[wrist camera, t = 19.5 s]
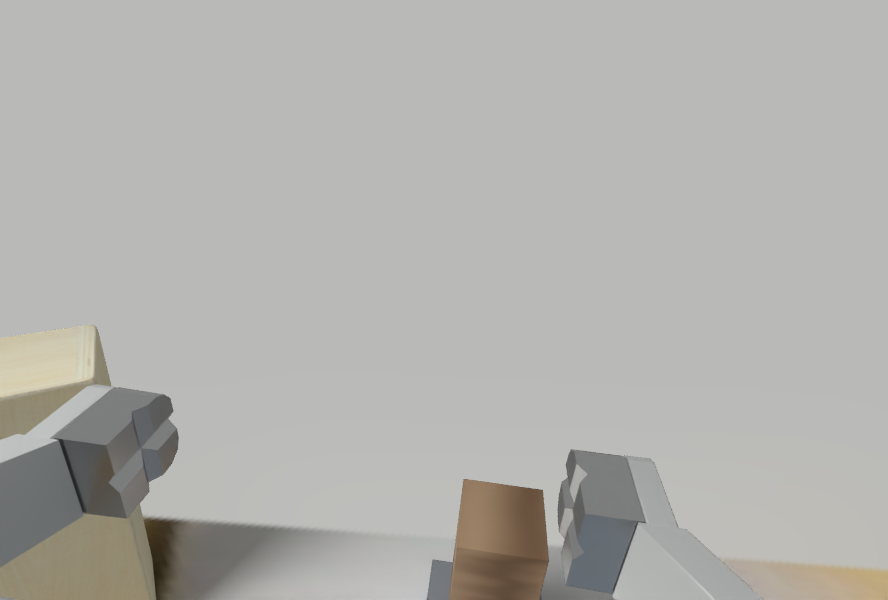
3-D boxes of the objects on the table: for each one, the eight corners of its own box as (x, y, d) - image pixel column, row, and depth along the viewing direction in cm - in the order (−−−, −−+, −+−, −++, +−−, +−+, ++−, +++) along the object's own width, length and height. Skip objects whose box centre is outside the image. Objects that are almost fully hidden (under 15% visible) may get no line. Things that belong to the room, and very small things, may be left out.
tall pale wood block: (155, 548, 40) (96, 316, 31) (163, 632, 35) (95, 380, 26) (29, 593, 37) (-81, 342, 27) (16, 696, 31) (-127, 425, 22)
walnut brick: (442, 654, 32) (456, 547, 28) (450, 581, 37) (463, 479, 32) (521, 667, 32) (548, 560, 28) (519, 592, 36) (542, 489, 32)
